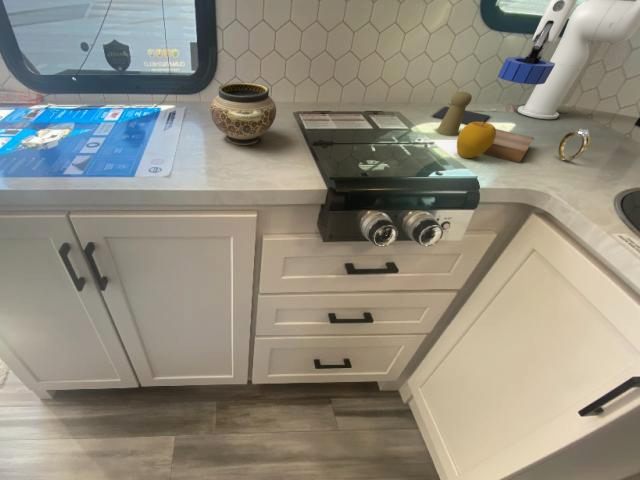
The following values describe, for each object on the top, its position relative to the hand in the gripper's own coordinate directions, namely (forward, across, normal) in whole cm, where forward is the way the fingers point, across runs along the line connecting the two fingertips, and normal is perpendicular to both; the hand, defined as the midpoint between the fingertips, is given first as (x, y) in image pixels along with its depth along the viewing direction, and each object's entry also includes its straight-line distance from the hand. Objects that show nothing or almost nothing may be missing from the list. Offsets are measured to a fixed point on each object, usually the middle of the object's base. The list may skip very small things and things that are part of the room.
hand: (525, 73), depth 94 cm
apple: (+17, -23, +2) cm, 28 cm away
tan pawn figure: (+17, -6, +12) cm, 21 cm away
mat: (+17, +14, +13) cm, 26 cm away
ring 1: (+1, -4, 0) cm, 4 cm away
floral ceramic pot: (+17, -55, +55) cm, 80 cm away
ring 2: (+17, -6, -19) cm, 26 cm away
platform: (+17, -10, -3) cm, 20 cm away
